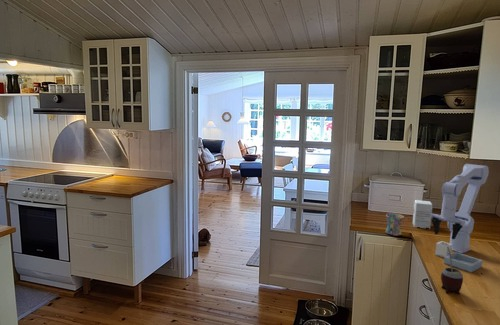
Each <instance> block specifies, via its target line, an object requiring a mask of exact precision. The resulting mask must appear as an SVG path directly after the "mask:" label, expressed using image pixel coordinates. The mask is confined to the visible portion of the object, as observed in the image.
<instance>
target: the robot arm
mask: <svg viewBox="0 0 500 325" xmlns="http://www.w3.org/2000/svg"><path fill="white" fill-rule="evenodd" d="M489 172H490V171H489V166H488V165H481V164H479V165H478V164H471V163H465V164H464V165H463V167H462V172H461V173H460V174H457V175H455V176H454V177H453V178H452V179H451V180H449V181H446V182H444V183H443V184H442V187H441V192H442V195H441V196H442V203H441V210H440V211H441V213H440V214H437V213H432V214H431V217H430V218H431V224H432V226H433V229H434V235H439V231H440V227H441V223H442V221H443V222H444V221H445V222H447V228H448V229H449V232H450V238H449V243H450V244H452V252H453V251H455V252H457V253H460V254H464V253H467V252H468V251H471V250H472V249H471V248H470V240H471V235H470V234H472V233H473V230H474V224H475V219H474V218H473V217H472V216H471V212H472V210H473V207H474V204H475V201H476V198H477V197H478V194H479V191H480V188H481V186H482V185H485V183H487V182H486V181H487V180H488V176H489V174H490V173H489ZM467 184H468V185H467ZM465 186H467V188H466V191H465V193H464V196H463V199H462V200H461V205H460V207H459V210H458V211H457V204H458V198H459V196H461V192H462V191H463V188H464V187H465Z"/></svg>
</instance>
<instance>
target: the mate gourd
mask: <svg viewBox="0 0 500 325" xmlns="http://www.w3.org/2000/svg"><path fill="white" fill-rule="evenodd" d="M447 249H448V251H449V254H450V255H449V256H450V263H451V266H450V267H446V268H444V269H442V272H441V274H440V280H441V284H442V286H441V289H444V290H445V294H447V295H448V294H449V292H450V293H453V292H454V293H453V294H455V293H456V295H460V294H461V293H460V291H461V289H462V286H463V283H464V277H463V274H462V272H461V271H460V269H458V268H454V267H452V255H451V254H452V253H451V252H450V250H449V248H448V247H447Z"/></svg>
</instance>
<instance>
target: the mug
mask: <svg viewBox="0 0 500 325" xmlns="http://www.w3.org/2000/svg"><path fill="white" fill-rule="evenodd" d="M385 217H386V220H387V226H386V229H385V234H387V235H389V236H396V237H397V236H401V235H402V231H401V230H402V229H401V225H402V222H403V220H404V218H405V216H404V215H402V214H399V213H393V212H392V213H391V212H390V213H386V214H385Z"/></svg>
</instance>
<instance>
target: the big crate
mask: <svg viewBox="0 0 500 325" xmlns="http://www.w3.org/2000/svg"><path fill="white" fill-rule="evenodd" d="M451 255H452V267H453V268H454V269H457V270H461V271H465V272H466V273H470V274H472V273H474V272H476V271H477V270H479V269H481V268H483V261H484V260H483V259H479V258H476V257H473V256H470V255H467V254H464V253H460V252H457V251H455V252H453V253H451ZM443 260H444V261H443V264H444V265H447V266H450V267H451V263H450V256H449V255H448V256H446V257H445V258H443Z"/></svg>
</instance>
